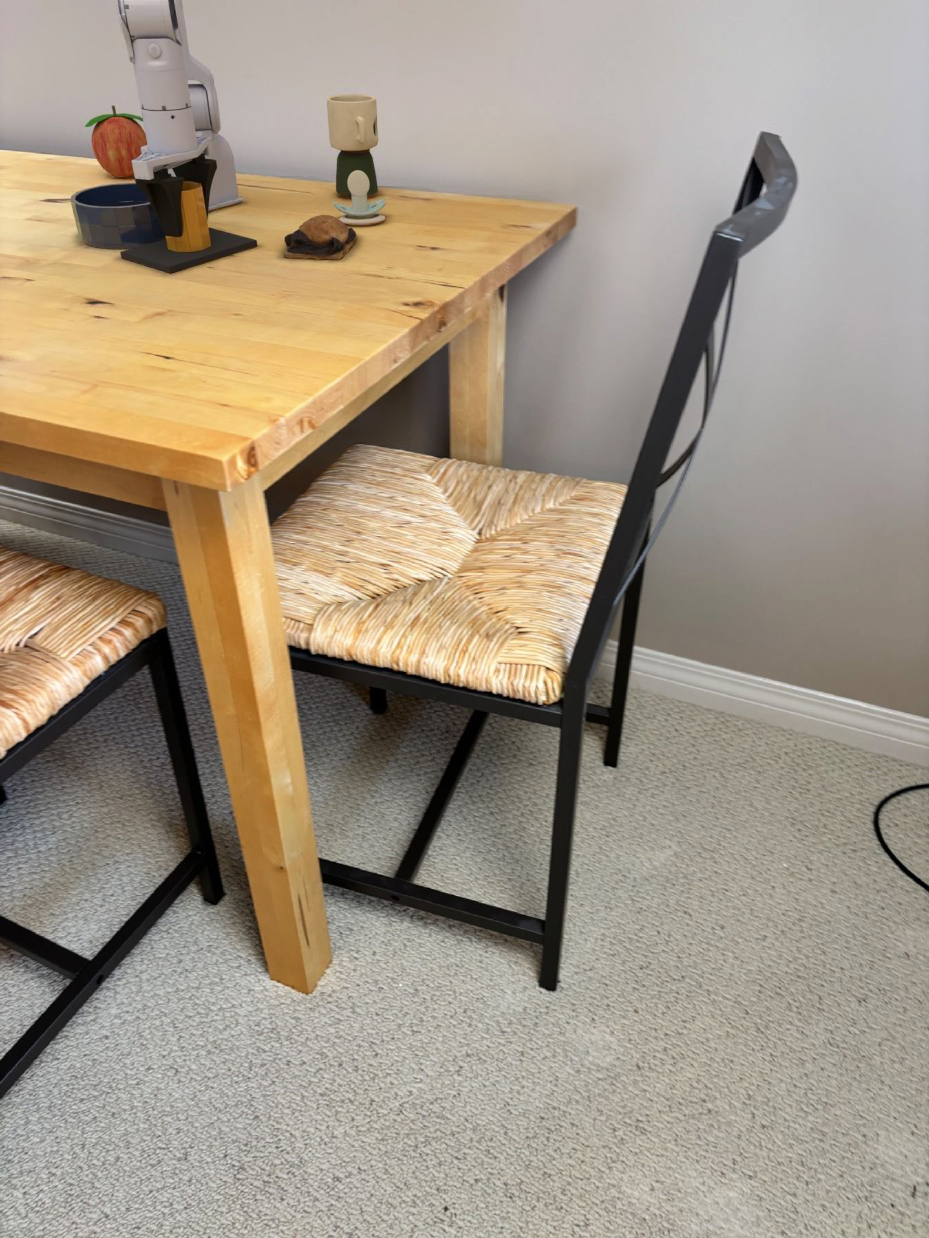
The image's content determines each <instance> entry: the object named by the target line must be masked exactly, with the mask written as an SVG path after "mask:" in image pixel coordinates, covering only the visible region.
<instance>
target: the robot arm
mask: <svg viewBox="0 0 929 1238" xmlns="http://www.w3.org/2000/svg"><path fill="white" fill-rule="evenodd" d="M115 2H116V3H115V4H116V12H117V16H118V17H117V18H118V23H119V26H120V30H121V33H122V35H123V38H124V41H125V45H126V49H127V54H128V55H127V56H128V58H129V62H130V63H132V66H133V73H134V78H135V84H136V89H137V94H138V95H137V96H138V101H139V106H140V111H141V117H142V118H143V122H142V123H143V129H144V132H145V134H146V139H147V145H146V146H143V147H141V152H142V154H141V155H140V156H139V157H138V158H137V159H134V160H132V166H133V171H134V176H133V178H134V183H136V184H137V185H138V187H139V188H140V189H141V190H142V192H143V193H144V194H145V196H146V197H147V199H148V200H149V202H150V204H151V205H152V207H153V209H154V211H155V214H156V216H157V218H158V220H159V222H160V225H161V227H162V229H163V232H164V234H165V236H171V237H181V236H182V233H183V224H182V213H181V194H182V187H183V182H184V181H193V182H197V183H201V185H202V190H203V196H204V202H205V209H206V215H207V222H208V220H209V212H210V211H213V210H217V209H221V208H224V207H229V206H232V205H235V204H240V203H242V202H244V199H243V197H240V196H239V189H238V188H239V186H238V179H237V172H236V165H235V158H234V153H233V150H232V147H231V146H230V143H229V141H228V140H227V139H226V138H225V137H224V136H222V135H221V134H219V132H220V131H221V129H222V124H221V115H220V107H219V101H218V100H219V99H218V93H217V89H216V86H215V80H214V74H213V73H212V72H211V70H210V68H209V67H207V66H206V65H205V64H203V63H202V62H201V61H199V60H198V59H197V58H195V57H194V56H193V55H191V53H190V48H189V41H188V33H187V27H186V20H185V14H184V13H185V12H184V7H183V0H115ZM189 81H194V82H195V81H197V82H199V83H189Z"/></svg>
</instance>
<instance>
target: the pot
mask: <svg viewBox="0 0 929 1238" xmlns="http://www.w3.org/2000/svg"><path fill="white" fill-rule="evenodd" d="M70 205H71V208H72V209H71V210H72V213H73V218H74V221H75V225H76V231H77V235H78V237H79V240H80V242H81V243H83V244H84V245H86V246H89V247H91V248H97V249H106V250H128V249H132V248H136V247H139V246H143V245H146V244H150V243H153V242H157V241H160V240H164V239H166V236H165V234H164V232H163V229H162V227H161V225H160V222H159V220H158V218H157V216H156V214H155V211H154V209H153V207H152V205H151V204H150V202H149V200H148V199H147V197H146V196H145V194H144V193H143V192H142V190H141V189H140V188H139V187H138V185H137V184H136V182H120V183H119V182H118V183H109V184H102V185H96V186H92V187H87V188H84V189H81V190H79V191H76V192H75V193H73V194H72V195H71V196H70Z"/></svg>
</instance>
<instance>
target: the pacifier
mask: <svg viewBox="0 0 929 1238" xmlns="http://www.w3.org/2000/svg"><path fill="white" fill-rule="evenodd" d="M347 183H348V189H349V191H350V192H351V195H350V196H351V206H349V205H346V204H343V203H339V202H335V201H333V202H332V205H333V207H334V208H335V209H336V210H338V211H339V212H341V213H343V214H344V215H342V216H340V217H339V218H338V219H339V220H341V221H342V222H343V223H344V224H345V225H353V226H360V225H361V226H365V225H373V224H378V223H382V222H384V221H385V220H386V216H385V215H383V214H381V213H378V212H379V211H381V210H382V209H383V208H384V207H385V206H386V204H387V199H385V198H382V199H378V200H376V201H373V202H370V203H369V204H368V194H367V192H368V190H369V186H370V183H369V179H368V177H367V175H366V174H365V173H364V172H362V171H360V170H356V171H353V172H352V173H351V174H350V175H349V177H348V182H347Z"/></svg>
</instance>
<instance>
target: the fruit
mask: <svg viewBox="0 0 929 1238" xmlns="http://www.w3.org/2000/svg"><path fill="white" fill-rule="evenodd" d="M111 110H112V113H107V114H105V113H104V114H101V115H98V116H95V117H93V118H91V119H89V120H88V122H87V123H86V124H85V125H84V127H86V128H90V127H92V126H94V127H93V130H92V133H91V148H92V152H93V155H94V156H95V159H96V161H97V162H98V164H99V165H100V167H101V168H102V169H103V170H104V171H105V172H107V173H108V174H109V175H111V176H114V177H118V178H129V177H134V171H133V166H132V160H134V159H137V158H138V157H139V156H140V155H141V154H142V152H141V147H143V146H146V145H147V139H146V134H145V129H144V128H143V127H142V125H141V124H140V123H139V122H138V121H140V122H142V123H143V117H142V116H140V115H136V114H130V113H125V112H124V113H117V110H116V106H115V105H114V104H113V105H111ZM137 120H138V121H137Z"/></svg>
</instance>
